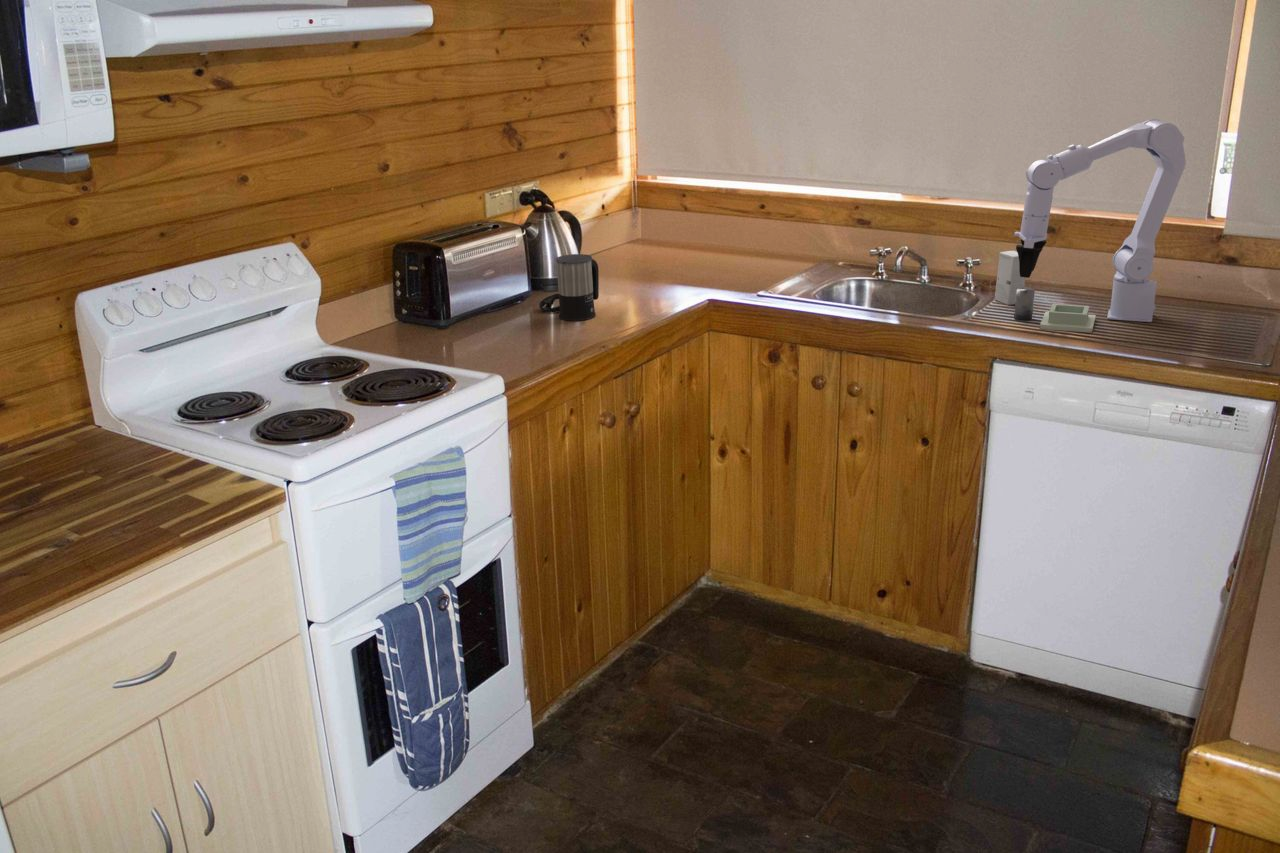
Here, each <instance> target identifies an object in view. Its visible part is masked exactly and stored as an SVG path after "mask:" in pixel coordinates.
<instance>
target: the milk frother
mask: <svg viewBox="0 0 1280 853" xmlns="http://www.w3.org/2000/svg"><path fill="white" fill-rule="evenodd" d="M554 260H555V262H556V275H557V287H558V288H557V289H558V293H555V294H551V295H548V296H546V297H545V298H543V299H542V300H541V301H540V302H539V309H540V310H541V311H542V312H545V313H557V312H559V314H558V318H559V319H561V320H562V321H563V320H564V321H567V322H569V321H570V322H577V321H578V322H579V321H587V320H590V319H593V318H594V317H596V311H595V310H596V309H595V300H598V299H599V291H600V290H599V289H600V288H599V286H600V284H599V283H600V282H599V281H600V280H599V275H600V274H599V273H600V272H599V264H598V262H597V261H596V260H595V259H594V258H593V256H592V255H590V254H584V253H583V254H582V253H581V254H580V253H575V254H573V253H572V254H563V255H560V256H557V257H556V258H554ZM556 300H558V302H559V303H558V306H555V307H554V306H553V305H554V302H555V301H556ZM552 306H553V307H552Z"/></svg>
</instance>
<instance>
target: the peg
mask: <svg viewBox="0 0 1280 853" xmlns="http://www.w3.org/2000/svg"><path fill="white" fill-rule="evenodd" d="M1035 290H1036V289H1035V288H1033V287H1025V286H1024V287H1020V288H1017V291H1016V303H1015V304H1014V306H1015V307H1014V319H1015V320H1016V321H1021V322H1022V321H1023V322H1026V321H1027V322H1028V321H1033V313H1034V300H1035Z"/></svg>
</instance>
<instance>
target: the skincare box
mask: <svg viewBox="0 0 1280 853" xmlns="http://www.w3.org/2000/svg"><path fill="white" fill-rule="evenodd" d="M998 257H999V258H998V263H997V264H998V266H997V274H996V275H997V276H996V284H995V294H994V299H995V301H997V302H1000V303H1002V304H1004V305H1008V306H1009V305H1012V306H1013V305H1015V303H1016V291H1017V288H1020V287H1025V283H1026V277H1020V271H1019V257H1018V253H1017V250H1006V251H999V256H998Z"/></svg>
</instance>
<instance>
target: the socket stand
mask: <svg viewBox="0 0 1280 853" xmlns="http://www.w3.org/2000/svg"><path fill="white" fill-rule="evenodd" d="M1089 310H1090V305H1079V304H1076V305H1075V304H1067V303H1066V304H1062V303H1052V304H1051V307H1050V309H1049V310H1048V311H1044V313H1043V314H1044V315H1043V317H1042V319H1041V322H1040V325H1039V330H1049V331H1051V330H1052V331H1063V332H1077V333H1089V334H1090V333H1093V330H1094V326H1095V321H1096V316H1097V315H1096V314H1089V313H1090V311H1089Z"/></svg>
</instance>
